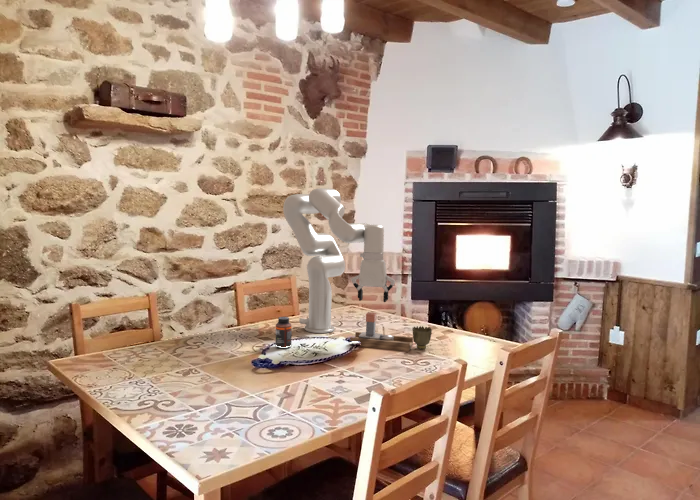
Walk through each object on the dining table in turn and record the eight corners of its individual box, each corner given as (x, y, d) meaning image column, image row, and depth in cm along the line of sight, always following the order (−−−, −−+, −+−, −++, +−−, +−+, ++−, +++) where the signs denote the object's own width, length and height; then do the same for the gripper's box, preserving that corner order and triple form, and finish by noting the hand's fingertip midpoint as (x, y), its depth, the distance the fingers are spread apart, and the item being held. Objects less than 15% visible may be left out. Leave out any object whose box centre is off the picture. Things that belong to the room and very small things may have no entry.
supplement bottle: (292, 345, 213) (293, 316, 212) (289, 350, 207) (290, 320, 206) (277, 344, 214) (277, 315, 213) (273, 349, 208) (274, 319, 207)
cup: (432, 351, 210) (433, 331, 209) (412, 351, 211) (413, 330, 210) (429, 346, 218) (430, 326, 217) (410, 345, 218) (411, 325, 217)
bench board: (349, 345, 216) (349, 338, 216) (356, 338, 226) (356, 331, 225) (408, 351, 210) (409, 343, 210) (412, 344, 220) (413, 337, 220)
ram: (358, 340, 217) (359, 314, 216) (362, 336, 223) (363, 310, 222) (391, 344, 214) (392, 317, 213) (394, 340, 220) (395, 313, 218)
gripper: (349, 257, 214) (348, 301, 215) (394, 258, 209) (393, 303, 211) (354, 255, 221) (353, 297, 223) (397, 256, 217) (396, 300, 218)
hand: (372, 300), depth 217 cm, fingers open, 9 cm apart
